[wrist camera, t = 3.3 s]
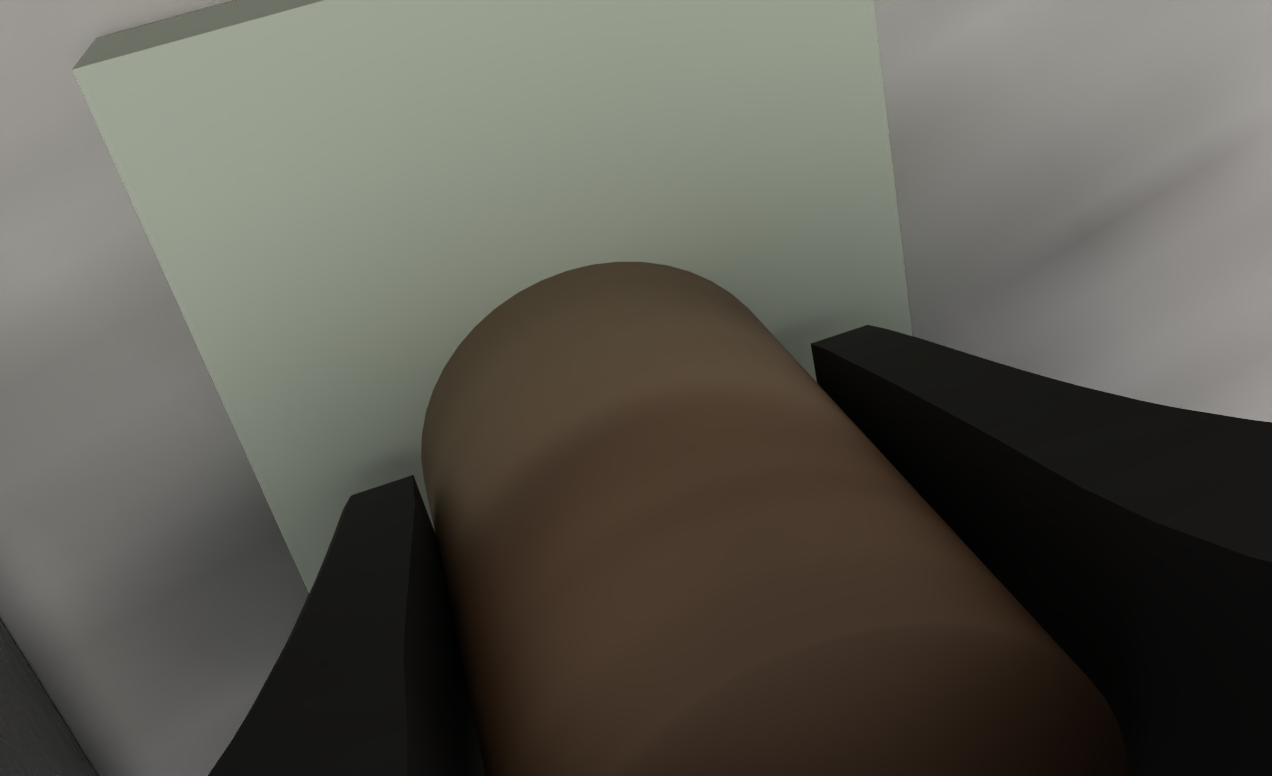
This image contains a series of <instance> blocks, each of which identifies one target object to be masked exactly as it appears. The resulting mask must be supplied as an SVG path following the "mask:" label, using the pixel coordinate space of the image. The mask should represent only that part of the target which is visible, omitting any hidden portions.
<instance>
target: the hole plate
mask: <svg viewBox="0 0 1272 776" xmlns="http://www.w3.org/2000/svg"><path fill="white" fill-rule="evenodd" d="M0 776H97V774H96V773H95V771H94V770H93V768H92V766H91V765H90V763H89V762H88V760H87V758H86V757H85V755H84V753H83V752H82V750H81V749H80V747H79V745H78V744H77V742H76V741H75V739H74V737H73V736H72V734H71V733H70V731H69V729H68V728H67V726H66V725H65V723H64V721H63V720H62V718H61V717H60V715H59V713H58V712H57V710H56V709H55V707H54V705H53V704H52V702H51V701H50V699H49V697H48V696H47V694H46V693H45V691H44V689H43V688H42V686H41V685H40V683H39V681H38V680H37V678H36V677H35V675H34V673H33V672H32V670H31V669H30V667H29V665H28V664H27V662H26V661H25V659H24V657H23V656H22V654H21V653H20V651H19V649H18V648H17V646H16V645H15V643H14V641H13V640H12V638H11V637H10V635H9V633H8V632H7V630H6V629H5V627H4V625H3V624H2V622H1V621H0Z"/></svg>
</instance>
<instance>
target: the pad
mask: <svg viewBox="0 0 1272 776" xmlns="http://www.w3.org/2000/svg"><path fill="white" fill-rule="evenodd" d="M72 71H73V73H74V76H75V78H76V80H77V82H78V85H79V87H80V89H81V91H82V93H83V96H84V98H85V100H86V102H87V104H88V107H89V109H90V111H91V113H92V115H93V118H94V120H95V122H96V124H97V127H98V129H99V131H100V133H101V135H102V138H103V140H104V142H105V144H106V146H107V149H108V151H109V153H110V155H111V157H112V160H113V162H114V164H115V166H116V169H117V171H118V173H119V175H120V177H121V180H122V182H123V184H124V186H125V188H126V191H127V193H128V195H129V197H130V199H131V202H132V204H133V206H134V208H135V211H136V213H137V215H138V217H139V219H140V222H141V224H142V226H143V228H144V230H145V233H146V235H147V237H148V239H149V241H150V244H151V246H152V248H153V250H154V253H155V255H156V257H157V259H158V261H159V264H160V266H161V268H162V270H163V272H164V275H165V277H166V279H167V281H168V283H169V286H170V288H171V290H172V292H173V295H174V297H175V299H176V301H177V303H178V306H179V308H180V310H181V312H182V314H183V317H184V319H185V321H186V323H187V325H188V328H189V330H190V332H191V334H192V337H193V339H194V341H195V343H196V345H197V348H198V350H199V352H200V354H201V356H202V359H203V361H204V363H205V365H206V367H207V370H208V372H209V374H210V376H211V379H212V381H213V383H214V385H215V387H216V390H217V392H218V394H219V396H220V398H221V401H222V403H223V405H224V407H225V409H226V412H227V414H228V416H229V418H230V421H231V423H232V425H233V427H234V429H235V432H236V434H237V436H238V438H239V440H240V443H241V445H242V447H243V449H244V451H245V454H246V456H247V458H248V460H249V463H250V465H251V467H252V469H253V471H254V474H255V476H256V478H257V480H258V482H259V485H260V487H261V489H262V491H263V493H264V496H265V498H266V500H267V502H268V505H269V507H270V509H271V511H272V513H273V516H274V518H275V520H276V522H277V524H278V527H279V529H280V531H281V533H282V536H283V538H284V540H285V542H286V544H287V547H288V549H289V551H290V553H291V555H292V558H293V560H294V562H295V564H296V566H297V569H298V571H299V573H300V575H301V578H302V580H303V582H304V584H305V586H306V589H307V591H308V593H310V591H311V589H312V587H313V584H314V582H315V580H316V577H317V575H318V572H319V570H320V568H321V565H322V563H323V560H324V558H325V555H326V553H327V550H328V548H329V545H330V543H331V540H332V537H333V535H334V532H335V530H336V527H337V524H338V522H339V519H340V516H341V514H342V511H343V509H344V507H345V505H346V503H347V501H348V500H349V498H350V496H351V495H354V494H357V493H360V492H363V491H366V490H369V489H372V488H375V487H378V486H381V485H384V484H387V483H390V482H393V481H396V480H399V479H402V478H405V477H408V476H411V475H414V478H415V481H416V483H417V486H418V489H419V491H420V494H421V497H422V499H423V502H424V505H425V507H426V510H427V513H428V515H429V518H430V521H431V523H432V526H433V521H432V517H431V512H430V507H429V502H428V497H427V493H426V488H425V483H424V477H423V469H422V461H421V446H422V431H423V426H424V420H425V414H426V410H427V407H428V404H429V401H430V398H431V395H432V392H433V389H434V387H435V385H436V383H437V381H438V379H439V377H440V375H441V373H442V371H443V369H444V367H445V365H446V364H447V362H448V361H449V359H450V358H451V356H452V355H453V353H454V352H455V350H456V349H457V347H458V346H459V345H460V343H461V342H462V341H463V340H464V339H465V338H466V337H467V335H468V334H469V333H470V332H471V331H472V330H473V328H474V327H475V326H476V325H477V324H478V323H480V322H481V321H482V320H483V319H484V318H485V317H486V316H487V315H489V314H490V313H491V312H492V311H493V310H494V309H495V308H497V307H498V306H499V305H501V304H502V303H504V302H505V301H507V300H508V299H510V298H511V297H512V296H514V295H515V294H517V293H518V292H520V291H522V290H524V289H526V288H528V287H530V286H532V285H534V284H536V283H537V282H539V281H541V280H544V279H546V278H549V277H552V276H554V275H557V274H560V273H562V272H565V271H568V270H572V269H576V268H580V267H584V266H588V265H593V264H602V263H610V262H648V263H655V264H662V265H668V266H672V267H675V268H679V269H682V270H686V271H689V272H692V273H694V274H697V275H699V276H701V277H703V278H706V279H708V280H710V281H712V282H714V283H715V284H717V285H719V286H720V287H722V288H723V289H725V290H727V291H728V292H730V293H731V294H732V295H734V296H735V297H736V298H737V299H738V300H739V301H741V302H742V303H743V304H744V305H745V306H746V307H748V308H749V310H750V311H751V312H752V313H753V314H754V315H755V316H756V317H757V318H758V319H759V320H760V321H761V323H762V324H763V325H764V326H765V327H766V328H767V329H768V330H769V331H770V332H771V333H772V334H773V336H774V337H775V338H776V339H777V340H778V341H779V342H780V343H781V344H782V345H783V346H784V348H785V349H786V350H787V351H788V352H789V353H790V354H791V355H792V356H793V357H794V358H795V359H796V361H797V362H798V363H799V364H800V365H801V366H802V367H803V368H804V369H805V370H806V371H807V373H808V374H809V375H810V376H811V377H812V378H813V379H814V380H815V381H816V382H817V380H816V374H815V368H814V362H813V356H812V350H811V343H814V342H817V341H820V340H823V339H826V338H829V337H832V336H835V335H838V334H841V333H844V332H847V331H850V330H853V329H856V328H859V327H862V326H865V325H871V326H876V327H880V328H885V329H889V330H892V331H896V332H899V333H903V334H906V335H910V336H913V334H912V325H911V316H910V308H909V299H908V291H907V282H906V274H905V265H904V257H903V248H902V240H901V231H900V223H899V214H898V205H897V197H896V188H895V180H894V171H893V163H892V154H891V146H890V137H889V129H888V120H887V112H886V103H885V94H884V86H883V77H882V69H881V60H880V52H879V43H878V35H877V26H876V18H875V9H874V0H235V1H231V2H227V3H224V4H220V5H216V6H213V7H209V8H205V9H202V10H198V11H194V12H191V13H187V14H183V15H180V16H176V17H172V18H169V19H165V20H161V21H158V22H154V23H150V24H147V25H143V26H139V27H136V28H132V29H128V30H125V31H121V32H117V33H114V34H110V35H106V36H103V37H99V38H96V39H95V41H94V42H93V43H92V45H91V46H90V47H89V48H88V50H87V51H86V52H85V53H84V55H83V56H82V57H81V59H80V60H79V61H78V62H77V64H76V65H75V66H74V68H73V69H72ZM433 529H434V526H433Z"/></svg>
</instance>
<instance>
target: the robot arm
mask: <svg viewBox="0 0 1272 776" xmlns="http://www.w3.org/2000/svg"><path fill="white" fill-rule="evenodd" d="M811 350H812V356H813V362H814V368H815V374H816V380H817V383H818V384H819V386H820V387H821V388H822V389H823V390H824V391H825V392H826V393H827V394H828V395H829V396H830V397H831V399H832V400H833V401H834V402H835V403H836V404H837V405H838V406H839V407H840V408H841V409H842V411H843V412H844V413H845V414H846V415H847V416H848V417H849V418H850V419H851V420H852V421H853V422H854V424H855V425H856V426H857V427H858V428H859V429H860V430H861V431H862V432H863V433H864V434H865V436H866V437H867V438H868V439H869V440H870V441H871V442H872V443H873V444H874V445H875V446H876V447H877V449H878V450H879V451H880V452H881V453H882V454H883V455H884V456H885V457H886V458H887V459H888V461H889V462H890V463H891V464H892V465H893V466H894V467H895V468H896V469H897V470H898V471H899V472H900V474H901V475H902V476H903V477H904V478H905V479H906V480H907V481H908V482H909V483H910V484H911V485H912V487H913V488H914V489H915V490H916V491H917V492H918V493H919V494H920V495H921V496H922V497H923V499H924V500H925V501H926V502H927V503H928V504H929V505H930V506H931V507H932V508H933V509H934V510H935V512H936V513H937V514H938V515H939V516H940V517H941V518H942V519H943V520H944V521H945V522H946V524H947V525H948V526H949V527H950V528H951V529H952V530H953V531H954V532H955V533H956V534H957V535H958V537H959V538H960V539H961V540H962V541H963V542H964V543H965V544H966V545H967V546H968V547H969V549H970V550H971V551H972V552H973V553H974V554H975V555H976V556H977V557H978V558H979V559H980V560H981V562H982V563H983V564H984V565H985V566H986V567H987V568H988V569H989V570H990V571H991V572H992V573H993V575H994V576H995V577H996V578H997V579H998V580H999V581H1000V582H1001V583H1002V584H1003V585H1004V587H1005V588H1006V589H1007V590H1008V591H1009V592H1010V593H1011V594H1012V595H1013V596H1014V597H1015V598H1016V600H1017V601H1018V602H1019V603H1020V604H1021V605H1022V606H1023V607H1024V608H1025V609H1026V610H1027V612H1028V613H1029V614H1030V615H1031V616H1032V617H1033V618H1034V619H1035V620H1036V621H1037V622H1038V623H1039V625H1040V626H1041V627H1042V628H1043V629H1044V630H1045V631H1046V632H1047V633H1048V634H1049V635H1050V636H1051V638H1052V639H1053V640H1054V641H1055V642H1056V643H1057V644H1058V645H1059V646H1060V647H1061V648H1062V650H1063V651H1064V652H1065V653H1066V654H1067V655H1068V656H1069V657H1070V658H1071V659H1072V660H1073V661H1074V663H1075V664H1076V665H1077V666H1078V667H1079V668H1080V669H1081V670H1082V671H1083V672H1084V673H1085V675H1086V676H1087V677H1088V678H1089V679H1090V680H1091V682H1092V683H1093V684H1094V685H1095V686H1096V688H1097V689H1098V690H1099V691H1100V692H1101V694H1102V695H1103V696H1104V697H1105V699H1106V701H1107V702H1108V704H1109V706H1110V708H1111V710H1112V712H1113V714H1114V715H1115V717H1116V719H1117V721H1118V724H1119V727H1120V730H1121V734H1122V737H1123V740H1124V744H1125V747H1126V755H1127V764H1128V773H1129V776H1272V423H1271V422H1263V421H1255V420H1248V419H1242V418H1235V417H1229V416H1223V415H1217V414H1211V413H1205V412H1198V411H1192V410H1186V409H1180V408H1174V407H1169V406H1164V405H1159V404H1154V403H1149V402H1145V401H1140V400H1135V399H1131V398H1127V397H1123V396H1119V395H1115V394H1110V393H1106V392H1102V391H1098V390H1094V389H1089V388H1085V387H1081V386H1077V385H1073V384H1070V383H1066V382H1062V381H1059V380H1055V379H1051V378H1047V377H1044V376H1040V375H1037V374H1033V373H1030V372H1026V371H1023V370H1020V369H1016V368H1013V367H1010V366H1006V365H1003V364H1000V363H996V362H993V361H990V360H987V359H983V358H980V357H977V356H974V355H970V354H967V353H964V352H961V351H958V350H955V349H952V348H948V347H945V346H942V345H939V344H936V343H932V342H929V341H926V340H923V339H920V338H916V337H913V336H910V335H906V334H903V333H899V332H896V331H892V330H889V329H885V328H880V327H876V326H871V325H865V326H862V327H859V328H856V329H853V330H850V331H847V332H844V333H841V334H838V335H835V336H832V337H829V338H826V339H823V340H820V341H817V342H814V343H811ZM208 776H486V774H485V770H484V765H483V760H482V755H481V751H480V746H479V741H478V736H477V731H476V727H475V722H474V717H473V712H472V708H471V703H470V698H469V693H468V688H467V684H466V679H465V674H464V669H463V665H462V660H461V655H460V650H459V645H458V641H457V636H456V631H455V626H454V622H453V617H452V612H451V607H450V601H449V596H448V591H447V586H446V581H445V577H444V572H443V567H442V562H441V558H440V553H439V548H438V543H437V539H436V534H435V531H434V529H433V526H432V523H431V521H430V518H429V515H428V513H427V510H426V507H425V505H424V502H423V499H422V497H421V494H420V491H419V489H418V486H417V483H416V481H415V478H414V475H411V476H408V477H405V478H402V479H399V480H396V481H393V482H390V483H387V484H384V485H381V486H378V487H375V488H372V489H369V490H366V491H363V492H360V493H357V494H354V495H351V496H350V498H349V500H348V501H347V503H346V505H345V507H344V509H343V511H342V514H341V516H340V519H339V522H338V524H337V527H336V530H335V532H334V535H333V537H332V540H331V543H330V545H329V548H328V550H327V553H326V555H325V558H324V560H323V563H322V565H321V568H320V570H319V572H318V575H317V577H316V580H315V582H314V584H313V587H312V589H311V591H310V593H309V595H308V598H307V600H306V602H305V604H304V606H303V608H302V611H301V613H300V615H299V617H298V619H297V622H296V624H295V626H294V628H293V630H292V632H291V635H290V637H289V639H288V641H287V643H286V645H285V647H284V649H283V651H282V652H281V654H280V656H279V658H278V660H277V662H276V664H275V665H274V667H273V669H272V671H271V673H270V675H269V677H268V678H267V680H266V682H265V684H264V686H263V688H262V690H261V691H260V693H259V695H258V697H257V699H256V701H255V702H254V704H253V706H252V708H251V710H250V711H249V713H248V715H247V717H246V718H245V720H244V721H243V723H242V725H241V726H240V728H239V730H238V731H237V733H236V735H235V736H234V738H233V740H232V741H231V743H230V744H229V746H228V747H227V749H226V750H225V752H224V753H223V754H222V756H221V757H220V759H219V760H218V762H217V763H216V765H215V766H214V768H213V769H212V770H211V772H210V773H209V775H208Z"/></svg>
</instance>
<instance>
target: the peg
mask: <svg viewBox="0 0 1272 776" xmlns="http://www.w3.org/2000/svg"><path fill="white" fill-rule="evenodd" d="M421 461H422V469H423V477H424V483H425V488H426V493H427V497H428V502H429V507H430V512H431V517H432V521H433V526H434V531H435V534H436V539H437V543H438V548H439V553H440V558H441V562H442V567H443V572H444V577H445V581H446V586H447V591H448V596H449V601H450V607H451V612H452V617H453V622H454V626H455V631H456V636H457V641H458V645H459V650H460V655H461V660H462V665H463V669H464V674H465V679H466V684H467V688H468V693H469V698H470V703H471V708H472V712H473V717H474V722H475V727H476V731H477V736H478V741H479V746H480V751H481V755H482V760H483V765H484V770H485V774H486V776H1129V773H1128V764H1127V755H1126V747H1125V744H1124V740H1123V737H1122V734H1121V730H1120V727H1119V724H1118V721H1117V719H1116V717H1115V715H1114V714H1113V712H1112V710H1111V708H1110V706H1109V704H1108V702H1107V701H1106V699H1105V697H1104V696H1103V695H1102V694H1101V692H1100V691H1099V690H1098V689H1097V688H1096V686H1095V685H1094V684H1093V683H1092V682H1091V680H1090V679H1089V678H1088V677H1087V676H1086V675H1085V673H1084V672H1083V671H1082V670H1081V669H1080V668H1079V667H1078V666H1077V665H1076V664H1075V663H1074V661H1073V660H1072V659H1071V658H1070V657H1069V656H1068V655H1067V654H1066V653H1065V652H1064V651H1063V650H1062V648H1061V647H1060V646H1059V645H1058V644H1057V643H1056V642H1055V641H1054V640H1053V639H1052V638H1051V636H1050V635H1049V634H1048V633H1047V632H1046V631H1045V630H1044V629H1043V628H1042V627H1041V626H1040V625H1039V623H1038V622H1037V621H1036V620H1035V619H1034V618H1033V617H1032V616H1031V615H1030V614H1029V613H1028V612H1027V610H1026V609H1025V608H1024V607H1023V606H1022V605H1021V604H1020V603H1019V602H1018V601H1017V600H1016V598H1015V597H1014V596H1013V595H1012V594H1011V593H1010V592H1009V591H1008V590H1007V589H1006V588H1005V587H1004V585H1003V584H1002V583H1001V582H1000V581H999V580H998V579H997V578H996V577H995V576H994V575H993V573H992V572H991V571H990V570H989V569H988V568H987V567H986V566H985V565H984V564H983V563H982V562H981V560H980V559H979V558H978V557H977V556H976V555H975V554H974V553H973V552H972V551H971V550H970V549H969V547H968V546H967V545H966V544H965V543H964V542H963V541H962V540H961V539H960V538H959V537H958V535H957V534H956V533H955V532H954V531H953V530H952V529H951V528H950V527H949V526H948V525H947V524H946V522H945V521H944V520H943V519H942V518H941V517H940V516H939V515H938V514H937V513H936V512H935V510H934V509H933V508H932V507H931V506H930V505H929V504H928V503H927V502H926V501H925V500H924V499H923V497H922V496H921V495H920V494H919V493H918V492H917V491H916V490H915V489H914V488H913V487H912V485H911V484H910V483H909V482H908V481H907V480H906V479H905V478H904V477H903V476H902V475H901V474H900V472H899V471H898V470H897V469H896V468H895V467H894V466H893V465H892V464H891V463H890V462H889V461H888V459H887V458H886V457H885V456H884V455H883V454H882V453H881V452H880V451H879V450H878V449H877V447H876V446H875V445H874V444H873V443H872V442H871V441H870V440H869V439H868V438H867V437H866V436H865V434H864V433H863V432H862V431H861V430H860V429H859V428H858V427H857V426H856V425H855V424H854V422H853V421H852V420H851V419H850V418H849V417H848V416H847V415H846V414H845V413H844V412H843V411H842V409H841V408H840V407H839V406H838V405H837V404H836V403H835V402H834V401H833V400H832V399H831V397H830V396H829V395H828V394H827V393H826V392H825V391H824V390H823V389H822V388H821V387H820V386H819V384H818V383H817V382H816V381H815V380H814V379H813V378H812V377H811V376H810V375H809V374H808V373H807V371H806V370H805V369H804V368H803V367H802V366H801V365H800V364H799V363H798V362H797V361H796V359H795V358H794V357H793V356H792V355H791V354H790V353H789V352H788V351H787V350H786V349H785V348H784V346H783V345H782V344H781V343H780V342H779V341H778V340H777V339H776V338H775V337H774V336H773V334H772V333H771V332H770V331H769V330H768V329H767V328H766V327H765V326H764V325H763V324H762V323H761V321H760V320H759V319H758V318H757V317H756V316H755V315H754V314H753V313H752V312H751V311H750V310H749V308H748V307H746V306H745V305H744V304H743V303H742V302H741V301H739V300H738V299H737V298H736V297H735V296H734V295H732V294H731V293H730V292H728V291H727V290H725V289H723V288H722V287H720V286H719V285H717V284H715V283H714V282H712V281H710V280H708V279H706V278H703V277H701V276H699V275H697V274H694V273H692V272H689V271H686V270H682V269H679V268H675V267H672V266H668V265H662V264H655V263H648V262H610V263H602V264H593V265H588V266H584V267H580V268H576V269H572V270H568V271H565V272H562V273H560V274H557V275H554V276H552V277H549V278H546V279H544V280H541V281H539V282H537V283H536V284H534V285H532V286H530V287H528V288H526V289H524V290H522V291H520V292H518V293H517V294H515V295H514V296H512V297H511V298H510V299H508V300H507V301H505V302H504V303H502V304H501V305H499V306H498V307H497V308H495V309H494V310H493V311H492V312H491V313H490V314H489V315H487V316H486V317H485V318H484V319H483V320H482V321H481V322H480V323H478V324H477V325H476V326H475V327H474V328H473V330H472V331H471V332H470V333H469V334H468V335H467V337H466V338H465V339H464V340H463V341H462V342H461V343H460V345H459V346H458V347H457V349H456V350H455V352H454V353H453V355H452V356H451V358H450V359H449V361H448V362H447V364H446V365H445V367H444V369H443V371H442V373H441V375H440V377H439V379H438V381H437V383H436V385H435V387H434V389H433V392H432V395H431V398H430V401H429V404H428V407H427V410H426V414H425V420H424V426H423V431H422V446H421Z"/></svg>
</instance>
